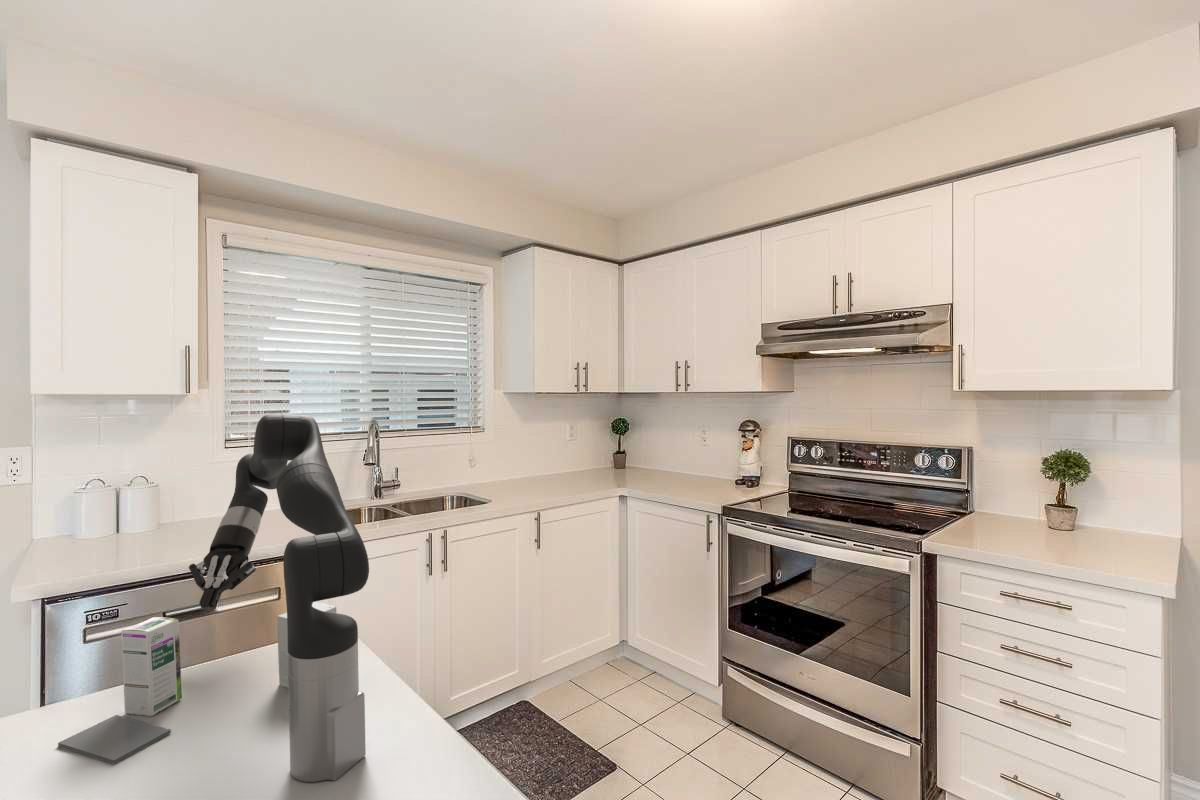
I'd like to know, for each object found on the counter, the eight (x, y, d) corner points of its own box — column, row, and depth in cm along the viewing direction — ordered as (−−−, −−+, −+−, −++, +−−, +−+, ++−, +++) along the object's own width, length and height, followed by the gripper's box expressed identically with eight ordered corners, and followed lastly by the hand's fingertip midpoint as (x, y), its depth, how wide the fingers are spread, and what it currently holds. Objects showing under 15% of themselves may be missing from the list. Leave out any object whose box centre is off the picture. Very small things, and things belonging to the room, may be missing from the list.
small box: (317, 666, 115) (315, 600, 114) (338, 673, 112) (337, 606, 111) (277, 685, 107) (276, 615, 107) (300, 693, 104) (298, 621, 104)
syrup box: (151, 717, 97) (149, 631, 97) (122, 714, 98) (120, 628, 98) (182, 699, 103) (180, 617, 102) (154, 696, 104) (152, 615, 104)
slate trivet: (170, 733, 93) (170, 729, 93) (114, 764, 85) (114, 760, 85) (116, 718, 97) (116, 714, 97) (58, 746, 89) (58, 742, 89)
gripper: (197, 524, 125) (161, 601, 113) (262, 522, 126) (233, 599, 114) (212, 542, 130) (179, 618, 119) (274, 540, 132) (248, 615, 120)
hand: (206, 608), depth 116 cm, fingers closed
